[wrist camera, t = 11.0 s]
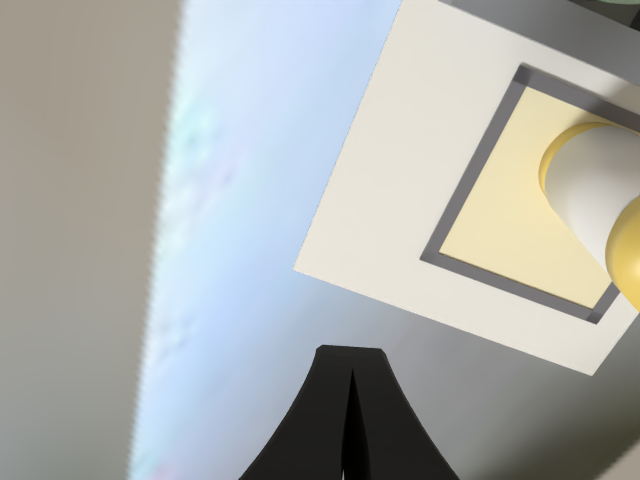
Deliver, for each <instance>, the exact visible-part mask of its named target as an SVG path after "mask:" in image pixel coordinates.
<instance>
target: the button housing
mask: <svg viewBox="0 0 640 480" xmlns="http://www.w3.org/2000/svg"><path fill="white" fill-rule="evenodd" d="M438 1H439V2H441V3H444V4H446V5H448V6H451V7H453V8H455V9H458V10H460V11H462V12H465V13H467V14H470V15H472V16H474V17H477V18H479V19H481V20H484V21H486V22H488V23H491V24H493V25H495V26H498V27H500V28H503V29H505V30H507V31H510V32H512V33H514V34H517V35H519V36H521V37H524V38H526V39H528V40H531V41H533V42H536V43H538V44H540V45H543V46H545V47H547V48H550V49H552V50H554V51H557V52H559V53H562V54H564V55H566V56H569V57H571V58H573V59H576V60H578V61H580V62H583V63H585V64H587V65H590V66H592V67H595V68H597V69H599V70H602V71H604V72H606V73H609V74H611V75H613V76H616V77H618V78H620V79H623V80H625V81H628V82H630V83H632V84H635V85H637V86H640V9H639V11H638V12H637V14H636V16H635V17H634V19H633V21H632V23H631V24H630V26H629V27H627V26H625V25H623V24H621V23H618V22H616V21H614V20H611V19H609V18H607V17H604V16H602V15H600V14H598V13H595V12H593V11H591V10H588V9H586V8H584V7H582V6H579V5H577V4H575V3H572V2H570V1H568V0H438Z"/></svg>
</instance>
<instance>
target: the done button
mask: <svg viewBox="0 0 640 480" xmlns="http://www.w3.org/2000/svg"><path fill="white" fill-rule="evenodd" d="M588 1H597V2H606V3H615V4H640V0H588Z"/></svg>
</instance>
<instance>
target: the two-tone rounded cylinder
mask: <svg viewBox="0 0 640 480" xmlns="http://www.w3.org/2000/svg"><path fill="white" fill-rule="evenodd" d="M538 178H539V184H540V187H541V190H542V192H543V194H544V195H545V197H546V198H547V201H548V203H549V205H550V206H551V208H552V209H553V211H554V212H555V213H556V214H557V215H558V216H559V218H560V219H561V220H562V221H563V222H564V223H565V225H566V226H567V227H568V228H569V229H570V230H571V231H572V233H573V234H574V235H575V236H576V237H577V238H578V240H579V241H580V242H581V243H582V244H583V245H584V246H585V248H586V249H587V250H588V251H589V252H590V253H591V255H592V256H593V257H594V258H595V259H596V260H597V262H598V263H599V264H600V265H601V266H602V267H603V268H604V270H605V271H606V272H607V273H608V274H609V276H610V278H611V280H612V281H613V283H614V284H615V286H616V287H617V288H618V289H619V290H620V291H621V293H622V294H623V295H624V296H625V297H626V298H627V300H628V301H629V302H630V303H631V304H632V305H633V306H634V308H635V309H636V310H637V311H638V312H640V136H639V135H637V134H635V133H633V132H632V131H629V130H627V129H624V128H620V127H616V126H613V125H611V124H608V123H603V122H588V123H583V124H579V125H576V126H574V127H571V128H570V129H568V130H566V131H564V132H563V133H561V134H560V135H559V136H558V137H556V138H555V139H554V140H553V141H552V142H551V144H550V145H549V146H548V148H547V149H546V151H545V152H544V154H543V156H542V159H541V162H540V165H539V171H538Z"/></svg>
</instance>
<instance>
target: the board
mask: <svg viewBox="0 0 640 480" xmlns="http://www.w3.org/2000/svg"><path fill="white" fill-rule="evenodd" d="M568 1H570V2H572V3H575V4H577V5H579V6H582V7H584V8H586V9H588V10H591V11H593V12H595V13H598V14H600V15H602V16H604V17H607V18H609V19H611V20H614V21H616V22H618V23H621V24H623V25H625V26H627V27H629V26H630V24H631V23H632V21H633V19H634V17H635V16H636V14H637V12H638V11H639V9H640V4H615V3H606V2H597V1H588V0H568ZM588 122H603V123H608V124H611V125H613V126H616V127H620V128H624V129H627V130H629V131H632V132H633V133H635V134H637V135H639V136H640V86H637V85H635V84H632V83H630V82H628V81H625V80H623V79H620V78H618V77H616V76H613V75H611V74H609V73H606V72H604V71H602V70H599V69H597V68H595V67H592V66H590V65H587V64H585V63H583V62H580V61H578V60H576V59H573V58H571V57H569V56H566V55H564V54H562V53H559V52H557V51H554V50H552V49H550V48H547V47H545V46H543V45H540V44H538V43H536V42H533V41H531V40H528V39H526V38H524V37H521V36H519V35H517V34H514V33H512V32H510V31H507V30H505V29H503V28H500V27H498V26H495V25H493V24H491V23H488V22H486V21H484V20H481V19H479V18H477V17H474V16H472V15H470V14H467V13H465V12H462V11H460V10H458V9H455V8H453V7H451V6H448V5H446V4H444V3H441V2H439V1H438V0H402V1H401V4H400V6H399V9H398V11H397V14H396V16H395V18H394V21H393V23H392V26H391V28H390V31H389V33H388V36H387V38H386V40H385V43H384V45H383V48H382V50H381V53H380V55H379V58H378V60H377V63H376V65H375V67H374V70H373V72H372V75H371V77H370V80H369V82H368V85H367V87H366V89H365V92H364V94H363V97H362V99H361V102H360V104H359V107H358V109H357V112H356V114H355V116H354V119H353V121H352V124H351V126H350V129H349V131H348V134H347V136H346V139H345V141H344V143H343V146H342V148H341V151H340V153H339V156H338V158H337V161H336V163H335V165H334V168H333V170H332V173H331V175H330V178H329V180H328V183H327V185H326V188H325V190H324V192H323V195H322V197H321V200H320V202H319V205H318V207H317V210H316V212H315V214H314V217H313V219H312V222H311V224H310V227H309V229H308V232H307V234H306V237H305V239H304V241H303V244H302V246H301V249H300V251H299V254H298V256H297V259H296V261H295V264H294V266H293V270H295V271H298V272H301V273H303V274H306V275H309V276H312V277H315V278H318V279H320V280H323V281H326V282H329V283H332V284H334V285H337V286H340V287H343V288H346V289H349V290H351V291H354V292H357V293H360V294H363V295H365V296H368V297H371V298H374V299H377V300H379V301H382V302H385V303H388V304H391V305H394V306H396V307H399V308H402V309H405V310H408V311H410V312H413V313H416V314H419V315H422V316H425V317H427V318H430V319H433V320H436V321H439V322H441V323H444V324H447V325H450V326H453V327H455V328H458V329H461V330H464V331H467V332H470V333H472V334H475V335H478V336H481V337H484V338H486V339H489V340H492V341H495V342H498V343H501V344H503V345H506V346H509V347H512V348H515V349H517V350H520V351H523V352H526V353H529V354H531V355H534V356H537V357H540V358H543V359H546V360H548V361H551V362H554V363H557V364H560V365H562V366H565V367H568V368H571V369H574V370H577V371H579V372H582V373H585V374H588V375H591V376H592V375H593V374H594V372H595V371H596V370H597V368H598V367H599V366H600V364H601V363H602V362H603V360H604V359H605V358H606V356H607V355H608V354H609V352H610V351H611V350H612V348H613V347H614V346H615V344H616V343H617V342H618V340H619V339H620V338H621V336H622V335H623V334H624V332H625V331H626V330H627V328H628V327H629V326H630V324H631V323H632V322H633V320H634V319H635V318H636V316H637V315H638V314H639V312H638V311H637V310H636V309H635V308H634V306H633V305H632V304H631V303H630V302H629V301H628V300H627V298H626V297H625V296H624V295H623V294H622V293H621V291H620V290H619V289H618V288H617V287H616V286H615V284H614V283H613V281H612V280H611V278H610V276H609V274H608V273H607V272H606V271H605V270H604V268H603V267H602V266H601V265H600V264H599V263H598V262H597V260H596V259H595V258H594V257H593V256H592V255H591V253H590V252H589V251H588V250H587V249H586V248H585V246H584V245H583V244H582V243H581V242H580V241H579V240H578V238H577V237H576V236H575V235H574V234H573V233H572V231H571V230H570V229H569V228H568V227H567V226H566V225H565V223H564V222H563V221H562V220H561V219H560V218H559V216H558V215H557V214H556V213H555V212H554V211H553V209H552V208H551V206H550V205H549V203H548V201H547V198H546V197H545V195H544V194H543V192H542V190H541V187H540V184H539V178H538V171H539V165H540V162H541V159H542V156H543V154H544V152H545V151H546V149H547V148H548V146H549V145H550V144H551V142H552V141H553V140H554V139H555V138H556V137H558V136H559V135H560V134H561V133H563V132H564V131H566V130H568V129H570V128H571V127H574V126H576V125H579V124H583V123H588Z"/></svg>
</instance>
